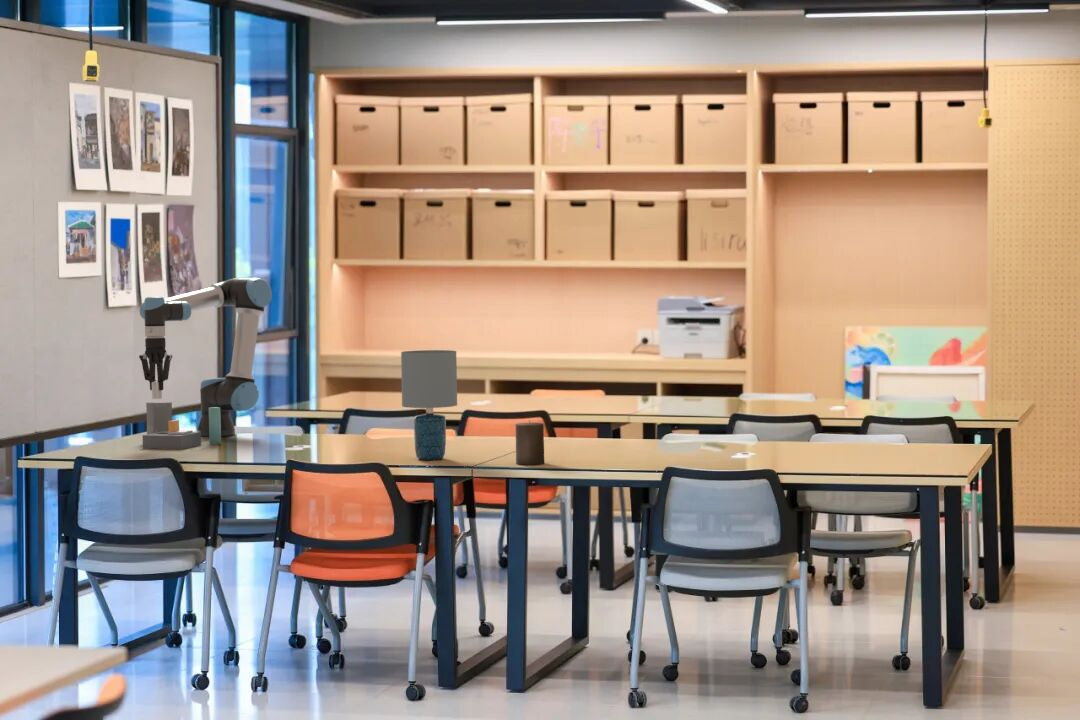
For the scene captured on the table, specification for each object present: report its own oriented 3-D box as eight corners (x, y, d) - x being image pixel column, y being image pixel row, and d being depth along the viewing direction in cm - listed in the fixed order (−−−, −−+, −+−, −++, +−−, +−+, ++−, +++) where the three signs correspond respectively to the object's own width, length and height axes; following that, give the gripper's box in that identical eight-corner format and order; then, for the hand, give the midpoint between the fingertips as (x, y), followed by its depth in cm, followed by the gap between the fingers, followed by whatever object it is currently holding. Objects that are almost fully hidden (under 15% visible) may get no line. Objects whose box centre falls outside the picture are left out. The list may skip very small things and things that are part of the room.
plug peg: (212, 442, 617) (212, 407, 616) (223, 443, 616) (222, 407, 615) (207, 444, 613) (206, 408, 612) (217, 444, 612) (217, 408, 611)
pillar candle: (548, 464, 537) (548, 420, 536) (521, 465, 533) (521, 421, 533) (538, 461, 546) (537, 418, 545) (511, 463, 542) (511, 419, 542)
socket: (163, 443, 616) (163, 431, 616) (201, 444, 612) (200, 431, 611) (142, 448, 601) (142, 435, 600) (180, 449, 596) (180, 436, 596)
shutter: (176, 432, 609) (176, 419, 609) (192, 432, 607) (192, 419, 607) (167, 434, 602) (167, 421, 602) (183, 434, 600) (183, 421, 600)
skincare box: (154, 443, 618) (153, 403, 617) (145, 442, 623) (144, 402, 622) (174, 441, 623) (173, 401, 622) (165, 440, 628) (164, 400, 628)
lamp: (413, 463, 543) (411, 353, 541) (395, 457, 561) (393, 351, 559) (465, 460, 551) (464, 351, 549) (446, 454, 568) (445, 349, 566)
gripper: (133, 337, 604) (135, 399, 605) (167, 337, 600) (168, 399, 601) (143, 336, 611) (145, 397, 612) (176, 336, 607) (178, 398, 608)
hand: (157, 398), depth 607 cm, fingers closed
